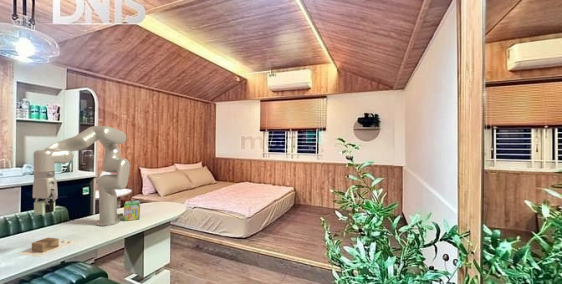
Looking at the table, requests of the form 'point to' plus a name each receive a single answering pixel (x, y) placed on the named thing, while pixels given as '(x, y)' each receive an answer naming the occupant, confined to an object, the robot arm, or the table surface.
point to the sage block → (41, 207)
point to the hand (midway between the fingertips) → (44, 211)
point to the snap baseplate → (62, 244)
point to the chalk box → (132, 210)
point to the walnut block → (45, 244)
